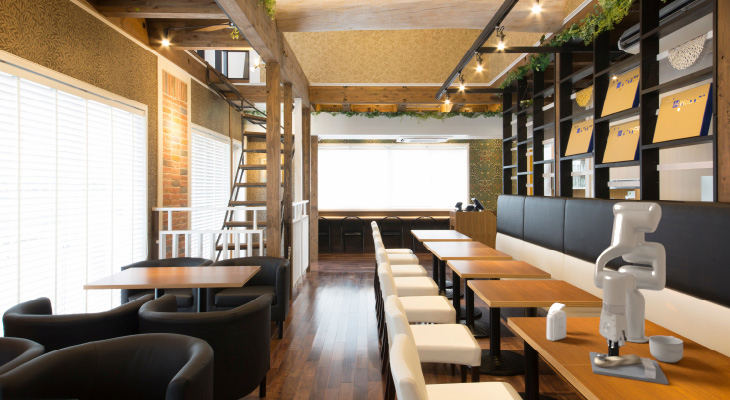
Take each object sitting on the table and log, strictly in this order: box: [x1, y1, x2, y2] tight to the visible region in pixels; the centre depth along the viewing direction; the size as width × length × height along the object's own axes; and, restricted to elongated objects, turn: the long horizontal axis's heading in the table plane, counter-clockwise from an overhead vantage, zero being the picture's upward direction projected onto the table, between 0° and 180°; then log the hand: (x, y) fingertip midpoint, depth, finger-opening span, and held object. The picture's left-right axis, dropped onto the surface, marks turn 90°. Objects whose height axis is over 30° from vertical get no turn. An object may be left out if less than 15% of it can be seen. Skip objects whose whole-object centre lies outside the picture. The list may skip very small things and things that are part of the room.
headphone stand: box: [548, 302, 566, 313], centre depth 201 cm, size 5×6×12 cm
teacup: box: [648, 335, 684, 363], centre depth 167 cm, size 14×11×8 cm
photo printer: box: [545, 309, 567, 342], centre depth 190 cm, size 10×4×12 cm, turn 123°
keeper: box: [639, 356, 656, 379], centre depth 151 cm, size 10×3×5 cm, turn 156°
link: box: [595, 352, 641, 368], centre depth 159 cm, size 18×4×4 cm, turn 104°
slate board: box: [589, 351, 669, 386], centre depth 158 cm, size 20×22×1 cm
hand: (613, 357), depth 162 cm, fingers closed
